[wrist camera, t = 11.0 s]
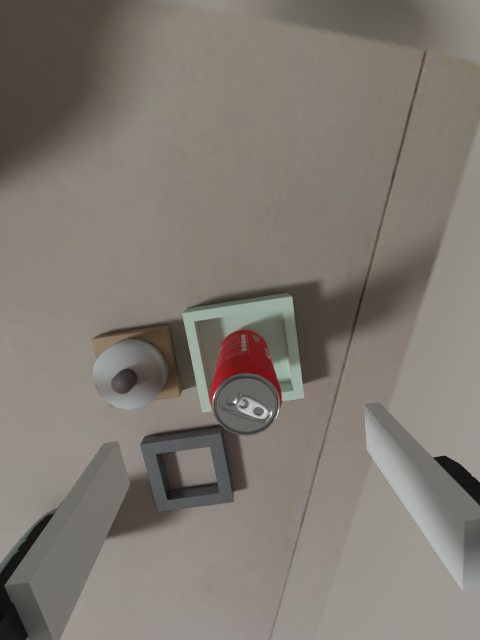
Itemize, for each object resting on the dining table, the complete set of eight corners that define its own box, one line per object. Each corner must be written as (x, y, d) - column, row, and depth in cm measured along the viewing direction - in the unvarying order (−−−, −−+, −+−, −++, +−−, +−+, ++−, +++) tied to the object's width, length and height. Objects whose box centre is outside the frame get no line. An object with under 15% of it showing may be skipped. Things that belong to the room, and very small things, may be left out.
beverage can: (234, 318, 30) (230, 357, 19) (275, 341, 31) (298, 391, 19) (212, 358, 31) (195, 419, 20) (252, 379, 32) (260, 450, 20)
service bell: (98, 335, 32) (69, 351, 26) (168, 324, 31) (153, 338, 26) (115, 400, 33) (91, 427, 28) (182, 390, 33) (171, 416, 28)
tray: (187, 308, 31) (182, 313, 28) (287, 292, 31) (292, 296, 28) (205, 399, 33) (202, 412, 30) (298, 385, 33) (304, 398, 30)
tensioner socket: (144, 436, 34) (140, 444, 33) (221, 425, 34) (220, 433, 33) (161, 501, 36) (157, 511, 35) (234, 491, 36) (233, 501, 35)
